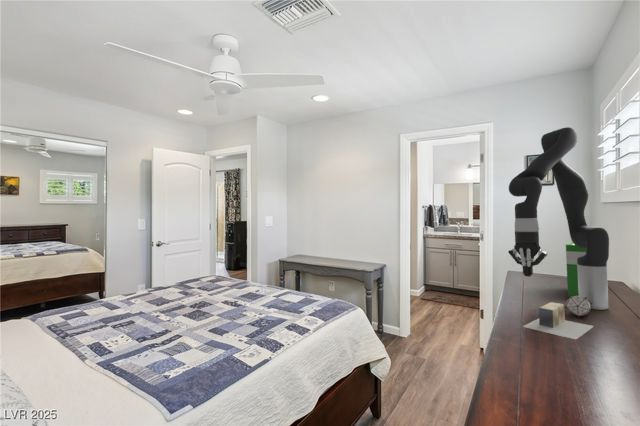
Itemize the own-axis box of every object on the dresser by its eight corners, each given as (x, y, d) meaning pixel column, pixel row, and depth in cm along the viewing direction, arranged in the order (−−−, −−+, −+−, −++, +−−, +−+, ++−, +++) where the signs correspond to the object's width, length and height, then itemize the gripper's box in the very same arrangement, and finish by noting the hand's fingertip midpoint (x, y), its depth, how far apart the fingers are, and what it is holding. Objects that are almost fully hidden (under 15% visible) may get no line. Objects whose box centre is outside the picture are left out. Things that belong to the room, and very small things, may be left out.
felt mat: (543, 316, 119) (543, 315, 119) (594, 327, 107) (594, 326, 107) (522, 327, 109) (522, 326, 109) (576, 340, 97) (575, 339, 97)
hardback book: (574, 288, 158) (572, 241, 159) (593, 291, 153) (591, 242, 153) (568, 295, 146) (565, 244, 146) (588, 298, 141) (586, 245, 141)
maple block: (539, 324, 110) (551, 318, 116) (552, 328, 107) (564, 320, 113) (538, 307, 110) (551, 302, 116) (552, 310, 107) (564, 304, 113)
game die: (585, 327, 117) (604, 310, 111) (561, 318, 118) (578, 301, 113) (578, 309, 124) (594, 292, 118) (555, 301, 126) (570, 284, 120)
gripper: (503, 230, 121) (504, 275, 121) (542, 231, 110) (544, 280, 110) (512, 229, 125) (513, 272, 125) (550, 230, 114) (552, 277, 114)
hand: (528, 276), depth 117 cm, fingers closed
